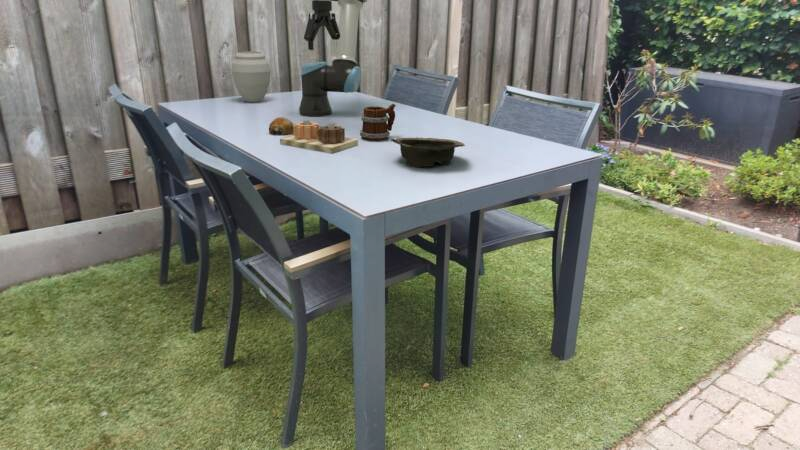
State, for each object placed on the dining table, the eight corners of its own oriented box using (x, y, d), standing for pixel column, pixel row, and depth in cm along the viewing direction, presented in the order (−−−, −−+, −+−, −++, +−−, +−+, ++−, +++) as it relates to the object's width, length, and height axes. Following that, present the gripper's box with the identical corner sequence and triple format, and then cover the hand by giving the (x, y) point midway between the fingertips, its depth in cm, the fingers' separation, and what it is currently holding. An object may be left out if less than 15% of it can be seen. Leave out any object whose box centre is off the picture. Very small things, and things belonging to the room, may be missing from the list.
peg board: (280, 143, 209) (278, 122, 206) (307, 136, 222) (306, 115, 219) (332, 153, 198) (331, 131, 195) (357, 144, 211) (357, 123, 208)
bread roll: (296, 142, 227) (302, 123, 227) (276, 135, 219) (282, 115, 219) (281, 138, 234) (287, 119, 233) (261, 131, 226) (267, 111, 225)
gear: (308, 141, 206) (308, 127, 204) (288, 137, 211) (287, 124, 209) (324, 136, 214) (324, 123, 212) (305, 133, 218) (304, 120, 216)
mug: (352, 136, 223) (357, 98, 218) (382, 138, 231) (388, 101, 227) (366, 142, 214) (373, 102, 209) (397, 144, 222) (404, 106, 218)
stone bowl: (410, 174, 177) (410, 145, 174) (381, 160, 198) (380, 134, 196) (478, 166, 186) (479, 138, 183) (443, 153, 208) (443, 128, 205)
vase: (227, 103, 284) (222, 53, 275) (243, 97, 302) (239, 50, 293) (264, 105, 281) (260, 54, 272) (278, 99, 299) (275, 51, 290)
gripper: (308, -1, 204) (310, 60, 212) (348, 0, 224) (349, 55, 232) (292, -1, 208) (295, 59, 215) (333, 0, 228) (334, 54, 236)
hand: (323, 57), depth 224 cm, fingers open, 13 cm apart
